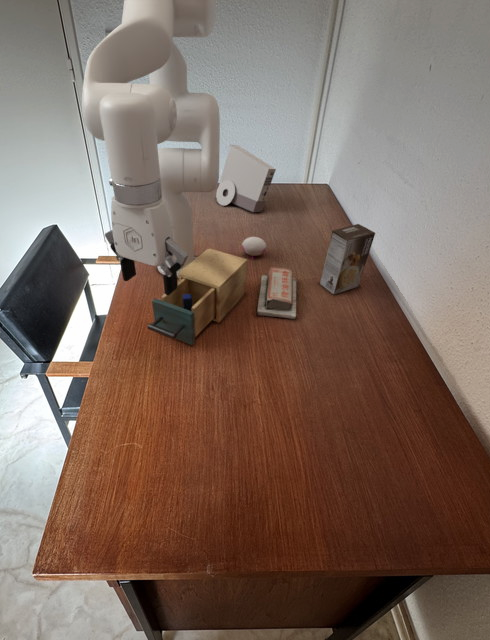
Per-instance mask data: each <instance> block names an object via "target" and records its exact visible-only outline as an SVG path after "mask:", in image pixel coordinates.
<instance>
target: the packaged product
mask: <svg viewBox="0 0 490 640" xmlns="http://www.w3.org/2000/svg"><path fill="white" fill-rule="evenodd" d="M256 311H257V316H263V317H264V316H265V317H273V318H274V317H275V318H287V319H291V320H296V316H297V278H294V276H293V271H292V270H291V269H289V268H286V267H285V268H284V267H273V266H272V267H269V270H268V272H267V275H266V274H262V275H261V279H260V285H259V293H258V302H257V309H256Z"/></svg>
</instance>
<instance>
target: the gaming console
mask: <svg viewBox="0 0 490 640" xmlns="http://www.w3.org/2000/svg"><path fill="white" fill-rule="evenodd" d="M223 165H224V166H223V168H222V173H221V176H220V179H219V180H220V181H219V183H218V185H217V187H216V192H215V197H216V201H217V203H218V204H219V205H220V206H223V207H224V206H228V205H229V204H233V205H235V206H238V207H240V208H242V209H245V210H247V211H249V212H251V213H259V212H263V209H264V206H265V203H266V198H267V195H268V193H269V190H270V187H271V184H272V181H273V179H274V176H275V173H276V170H277V168H275V167H274V166H272V165H270V164H269V163H268V162H265V161H264V160H263V159H260V158H259V157H257V156H256V155H255V154H253V153H251V152H250V151H248V150H246V149H245V148H244V147H242V146H240V145H237V144H229V148H228V151H227V155H226V158H225V162H224V164H223Z"/></svg>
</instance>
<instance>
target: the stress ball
mask: <svg viewBox="0 0 490 640" xmlns="http://www.w3.org/2000/svg"><path fill="white" fill-rule="evenodd" d="M241 248H242V251H243V252H244V253H245V254H246V255H248V256H252V257H251V258H250V259H251V260H255V258H254V257H257V256H260V255H263V254H264V253H265V252H266V250H267V243H266V241H265V240H264V239H263V238H261V237H257V236H249V237H247V238H244V240H243V242H242V243H241Z"/></svg>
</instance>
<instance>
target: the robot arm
mask: <svg viewBox="0 0 490 640" xmlns="http://www.w3.org/2000/svg"><path fill="white" fill-rule="evenodd" d="M216 1H217V0H123V8H122V17H121V24H119V25H118V26H116V28H114V29H113V30H111V32H109V33H108V34H107V35H106V36H105V37H104V38H103V39H102V40H101V41H100V42H99V43H98V44H97V45H96V46H95V47H94V48H93V50H92V51H91V53H90V54H89V57H88V58H87V61H86V65H85V68H84V75H83V82H82V83H83V84H82V90H81V110H82V111H81V112H82V117H83V121H84V125H85V127H86V129H87V131H88V132H89V133H90V134H91V136H93V137H94V138H95V139H97V140H100V141H104V146H105V150H106V156H107V162H108V167H109V173H110V178H109V180H108V183H109V185H110V186H111V187H112V189H113V195H114V196H112V197H111V201H110V221H111V229H110V230H109V231H107V232H105V233H104V237H105V238H106V241H107V242H108V244H109V245H110V246H109V247H110V250H111V251H112V252H113V253H114V254H115V258H116V260H117V261H118V262H119V264H120V269H121V275H122V280H123V281H124V282H128V281H130V280H131V279H132V278H134V277H135V276H136V275H137V270H136V264H135V262H137V263H141V264H144V265H147V266H150V267H156V268H157V271H158V272H159V273H160V274H161V275H162V276H163V277H162V279H163V291H164V294H166V295H170V294H171V293H172V292H173V291H174V290H176V289H177V286H178V284H177V283H178V273H179V272H180V271H181V270H182V269H184V268H185V267H186V266H187V265H189V264H190V263H191V262H192V261H193V260H195V259H196V258H197V257H195V253H194V252H195V251H194V250H195V249H194V224H193V223H194V222H193V208H192V204H191V202H190V200H189V198H188V197H187V195H186V194H185V193H211V192H214V191H216V190H217V188H218V186H219V182H220V181H219V180H220V148H221V147H220V146H221V145H220V144H221V142H220V141H221V140H220V139H221V135H220V134H221V122H220V121H221V119H220V118H221V117H220V107H219V104H218V103H219V102H218V101H217V99H216V97H215V96H213V95H212V94H210V93H206V92H189V89H188V66H187V65H188V64H187V62H186V60H185V57H184V56H183V54H182V51H181V50H180V49H179V48H178V46H177V45H176V43H175V42H174V38H206V37H209V36H210V35H211V33H212V32H213V30H214V26H215V22H216V16H217V15H216V13H217V2H216ZM146 76H148V81H149V83H134V82H132V81H137V80H138V79H141V78H144V77H146ZM131 82H132V83H131ZM165 142H178V143H179V142H180V143H184V142H185V143H197V144H199V145H200V146H201V148H184V147H164V148H159V147H158V145H159V144H162V143H165Z"/></svg>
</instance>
